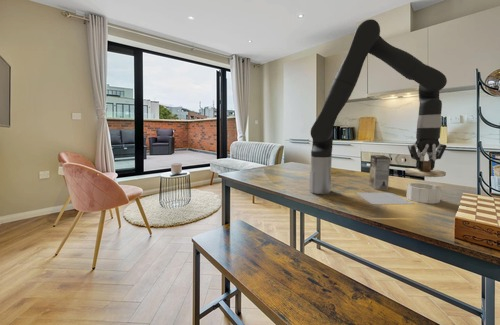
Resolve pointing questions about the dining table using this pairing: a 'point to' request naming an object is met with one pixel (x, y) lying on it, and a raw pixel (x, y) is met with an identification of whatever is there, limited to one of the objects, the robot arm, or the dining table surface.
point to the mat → (383, 198)
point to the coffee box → (379, 172)
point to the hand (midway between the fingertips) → (425, 169)
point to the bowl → (423, 193)
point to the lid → (426, 171)
